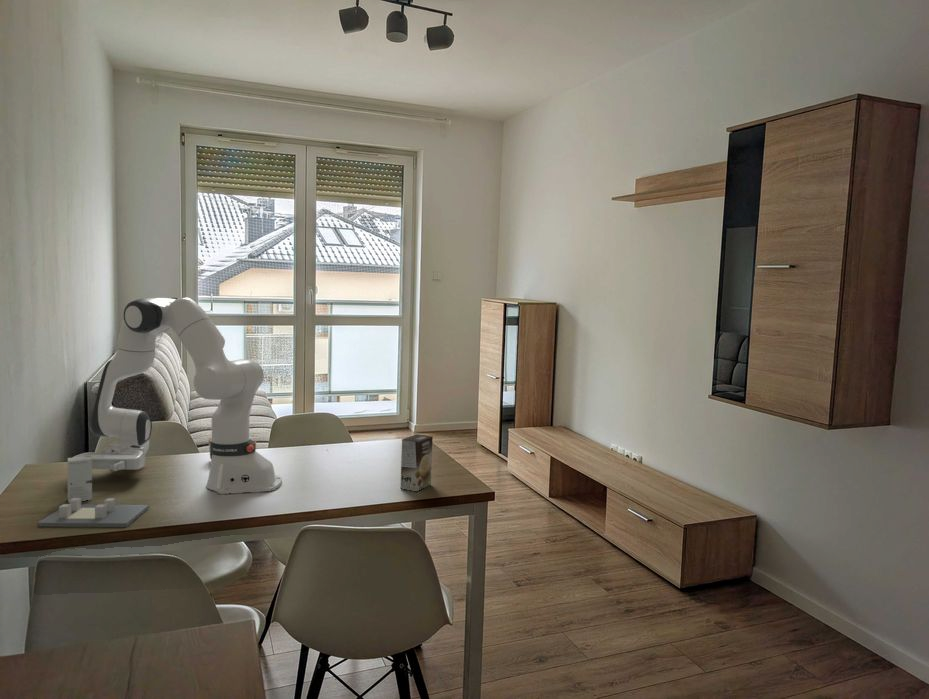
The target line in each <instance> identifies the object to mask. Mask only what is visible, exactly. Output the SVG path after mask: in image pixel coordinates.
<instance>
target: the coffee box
mask: <svg viewBox="0 0 929 699" xmlns="http://www.w3.org/2000/svg"><path fill="white" fill-rule="evenodd" d="M400 458H401V461H400V463H401V464H400V465H401V466H400V489H401V488H402V489H401V490H404V489H407V490H406V491H409V490H412V491H411V492H414V491H418V492H419V490H420V491H422V490H423V488H424V489H426V488H427V486H428V485H430V484H431V485H432V470H433V468H432V467H433V466H432V464H433V436H430V435H423V434H414V435H411V436H408V437H405V438H401V457H400ZM431 485H430V486H431ZM425 487H426V488H425ZM428 487H429V486H428ZM421 489H422V490H421Z"/></svg>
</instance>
